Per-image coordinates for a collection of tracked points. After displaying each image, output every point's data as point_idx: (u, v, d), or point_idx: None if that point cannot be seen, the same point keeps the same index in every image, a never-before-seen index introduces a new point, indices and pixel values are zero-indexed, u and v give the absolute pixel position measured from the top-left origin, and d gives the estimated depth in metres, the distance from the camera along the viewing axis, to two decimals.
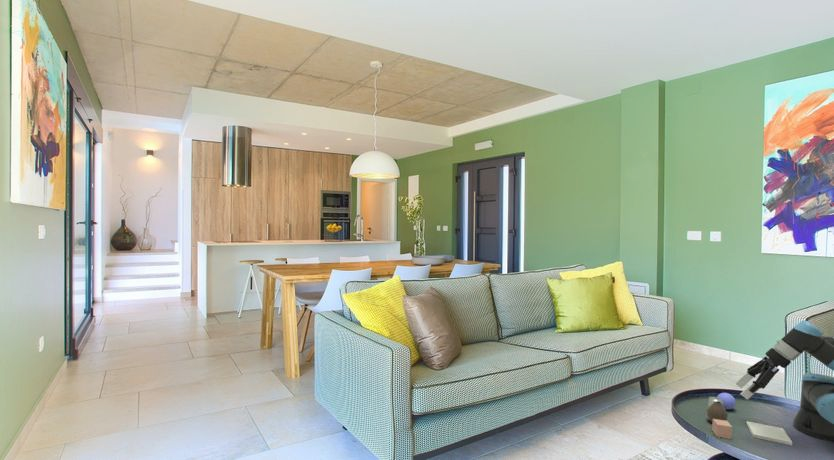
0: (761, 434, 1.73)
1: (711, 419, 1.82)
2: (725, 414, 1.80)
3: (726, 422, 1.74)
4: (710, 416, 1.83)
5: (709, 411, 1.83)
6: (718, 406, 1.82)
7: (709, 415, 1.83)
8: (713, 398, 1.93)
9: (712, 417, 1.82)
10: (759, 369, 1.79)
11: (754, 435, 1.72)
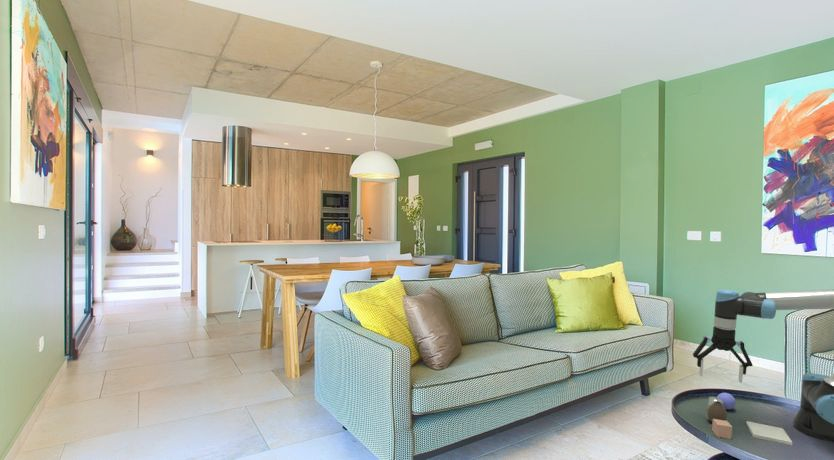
0: (761, 434, 1.73)
1: (711, 419, 1.82)
2: (725, 414, 1.80)
3: (726, 422, 1.74)
4: (710, 416, 1.83)
5: (709, 411, 1.83)
6: (718, 406, 1.82)
7: (709, 415, 1.83)
8: (713, 398, 1.93)
9: (712, 417, 1.82)
10: (733, 353, 1.80)
11: (754, 435, 1.72)
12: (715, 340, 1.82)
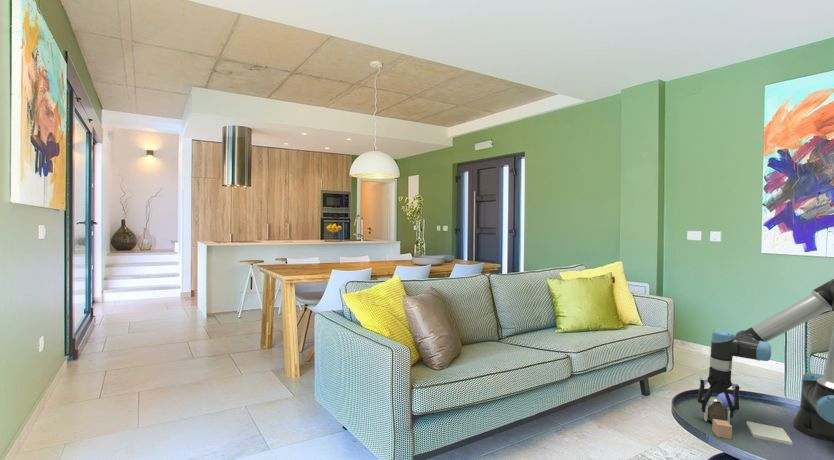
0: (761, 434, 1.73)
1: (711, 419, 1.82)
2: (725, 414, 1.80)
3: (726, 422, 1.74)
4: (710, 416, 1.83)
5: (709, 411, 1.83)
6: (718, 406, 1.82)
7: (709, 415, 1.83)
8: (713, 398, 1.93)
9: (712, 417, 1.82)
10: (725, 394, 1.82)
11: (754, 435, 1.72)
12: (711, 380, 1.83)
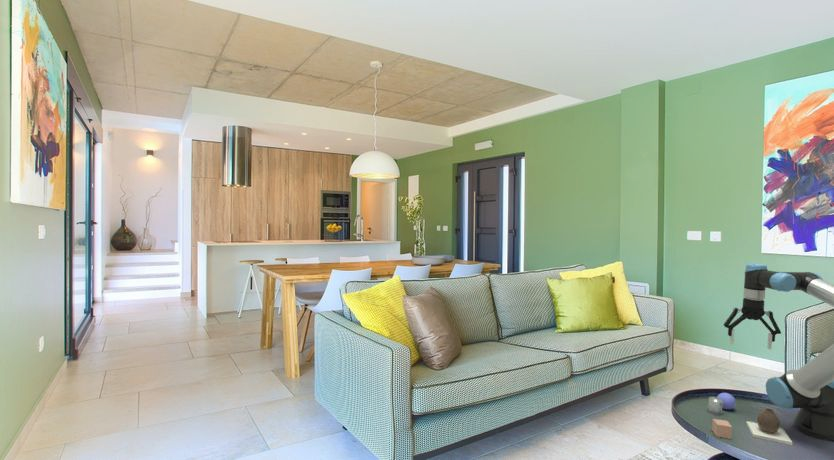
0: (761, 434, 1.73)
1: (762, 427, 1.74)
2: (777, 422, 1.72)
3: (726, 422, 1.74)
4: (761, 424, 1.74)
5: (760, 419, 1.75)
6: (770, 414, 1.73)
7: (760, 423, 1.75)
8: (713, 398, 1.93)
9: (763, 425, 1.74)
10: (762, 322, 1.94)
11: (754, 435, 1.72)
12: (745, 310, 1.95)
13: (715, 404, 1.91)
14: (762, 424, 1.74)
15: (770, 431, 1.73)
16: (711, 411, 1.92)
